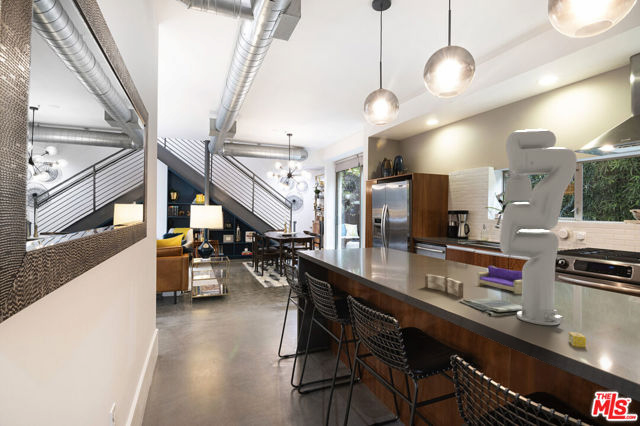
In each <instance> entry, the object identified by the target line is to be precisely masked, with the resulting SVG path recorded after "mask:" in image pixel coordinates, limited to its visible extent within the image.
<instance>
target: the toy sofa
mask: <svg viewBox="0 0 640 426" xmlns="http://www.w3.org/2000/svg"><path fill="white" fill-rule="evenodd" d="M487 270H488V271H484V272H483V271H482V272H477V273H476V274H477V280H478V282H477V286H478V287H481V286H483V287H484V286H491V287H494V288H498V289H502V290H508V291H510V292H513V294H514V295H515V294H517V295H522V270H521V271H520V270H513V269H512V270H511V269H505V268H500V267H497V266H496V267H495V266H494V265H489V266H487Z"/></svg>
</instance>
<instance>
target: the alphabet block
mask: <svg viewBox="0 0 640 426" xmlns="http://www.w3.org/2000/svg"><path fill="white" fill-rule="evenodd" d="M567 336H568V337H567V339H568V343H569V344H570V345H572V346H573V347H578V348H586V347H587V346H586V343H587V342H586V341H587V337H586V336H585V335H583V334H582V333H580V332H573V331H571V332H570V331H569V332H568V335H567Z"/></svg>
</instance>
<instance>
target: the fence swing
mask: <svg viewBox="0 0 640 426" xmlns="http://www.w3.org/2000/svg"><path fill="white" fill-rule="evenodd" d="M445 277H446V276H441V275H435V274H429V273H424V288H428V289H433V290H438V291H443V292H446V291H445Z"/></svg>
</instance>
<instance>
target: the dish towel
mask: <svg viewBox="0 0 640 426" xmlns="http://www.w3.org/2000/svg"><path fill="white" fill-rule="evenodd" d="M457 303H463V304H464V305H466V306H468V307H471V308H473V309H475V310H479V311H481V312H482V314H484V315H485V313H486V314H487V316H490V317H491V318H493V317H500V316H508V315H517V312H519V311H522V305H520V304H516V303H513V302H512V303H511V301H510V302H509V301H506V300H502V299H499V298H495V297H486V298H474V299H463V300H458V302H457Z"/></svg>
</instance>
